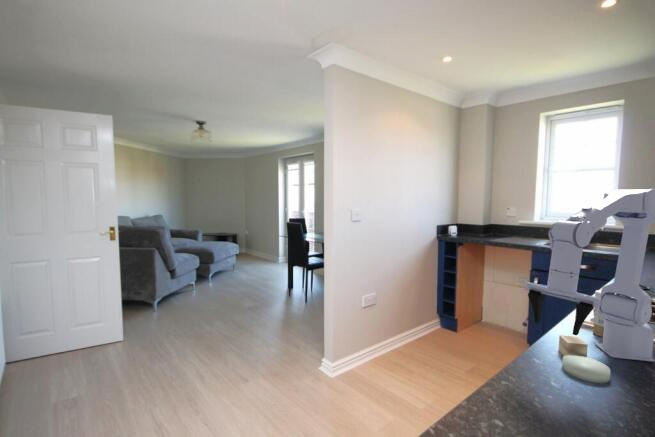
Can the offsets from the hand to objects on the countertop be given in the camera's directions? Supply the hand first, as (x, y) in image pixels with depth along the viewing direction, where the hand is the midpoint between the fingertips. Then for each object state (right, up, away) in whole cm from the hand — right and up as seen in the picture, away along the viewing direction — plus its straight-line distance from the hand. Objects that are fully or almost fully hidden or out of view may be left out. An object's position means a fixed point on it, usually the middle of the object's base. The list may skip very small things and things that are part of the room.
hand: (555, 328), depth 77 cm
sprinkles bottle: (+30, -10, +22) cm, 38 cm away
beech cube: (+11, -11, +9) cm, 18 cm away
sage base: (+8, -11, +1) cm, 14 cm away
